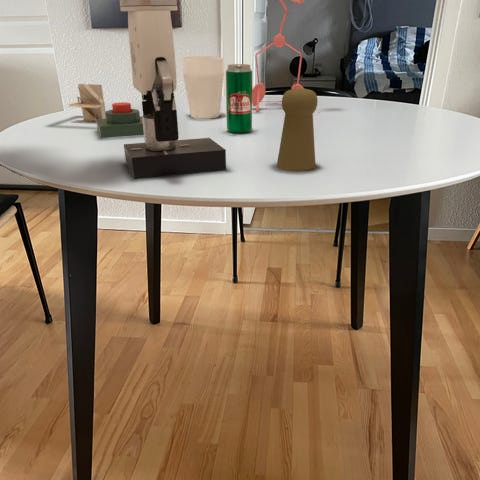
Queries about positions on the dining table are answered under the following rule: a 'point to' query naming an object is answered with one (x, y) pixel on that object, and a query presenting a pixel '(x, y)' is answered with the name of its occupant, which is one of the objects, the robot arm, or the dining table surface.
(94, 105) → the architectural model
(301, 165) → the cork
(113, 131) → the block
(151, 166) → the panel
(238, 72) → the soda can
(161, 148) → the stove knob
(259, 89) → the pink branching rod frame
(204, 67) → the cup
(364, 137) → the dining table surface
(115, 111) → the button
